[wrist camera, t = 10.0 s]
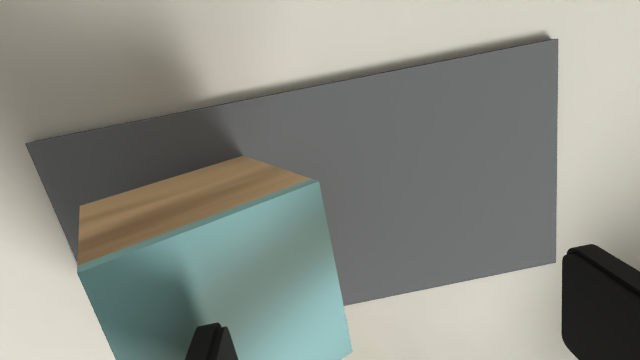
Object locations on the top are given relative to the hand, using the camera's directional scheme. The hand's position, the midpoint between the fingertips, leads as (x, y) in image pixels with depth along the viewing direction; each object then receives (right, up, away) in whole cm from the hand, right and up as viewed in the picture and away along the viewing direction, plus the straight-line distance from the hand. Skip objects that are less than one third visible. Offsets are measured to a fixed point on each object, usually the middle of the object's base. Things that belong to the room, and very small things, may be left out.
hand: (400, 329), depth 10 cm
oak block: (-4, 0, +1) cm, 5 cm away
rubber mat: (-2, +3, +9) cm, 10 cm away
